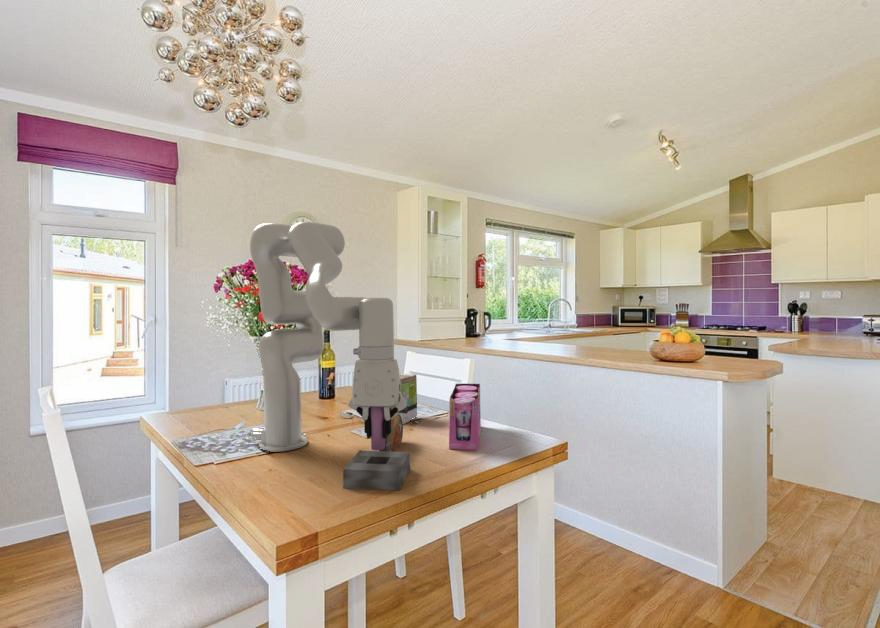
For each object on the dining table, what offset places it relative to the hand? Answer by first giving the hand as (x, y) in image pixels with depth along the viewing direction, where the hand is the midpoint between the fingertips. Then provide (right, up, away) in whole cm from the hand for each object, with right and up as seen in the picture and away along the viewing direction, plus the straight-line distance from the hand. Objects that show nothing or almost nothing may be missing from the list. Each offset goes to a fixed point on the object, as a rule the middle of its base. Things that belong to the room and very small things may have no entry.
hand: (378, 435), depth 101 cm
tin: (+1, -9, +20) cm, 22 cm away
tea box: (-3, -8, +51) cm, 52 cm away
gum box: (+21, -9, +30) cm, 38 cm away
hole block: (0, -9, 0) cm, 9 cm away
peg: (0, -3, 0) cm, 3 cm away
